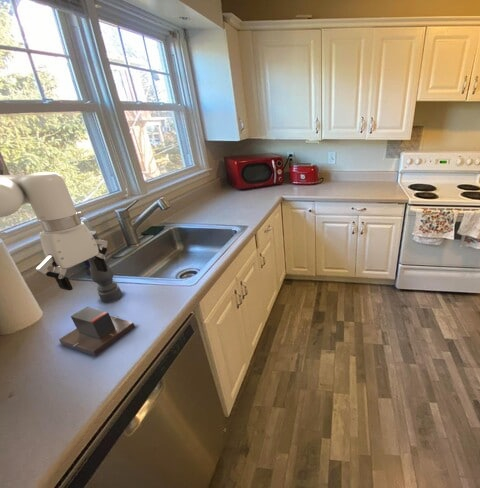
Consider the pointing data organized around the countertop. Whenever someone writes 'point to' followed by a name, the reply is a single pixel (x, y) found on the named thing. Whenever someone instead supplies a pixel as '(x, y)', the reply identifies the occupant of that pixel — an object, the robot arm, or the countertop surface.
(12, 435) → the countertop surface
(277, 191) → the countertop surface
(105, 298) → the candle holder
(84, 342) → the stand
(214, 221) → the countertop surface
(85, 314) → the clock
